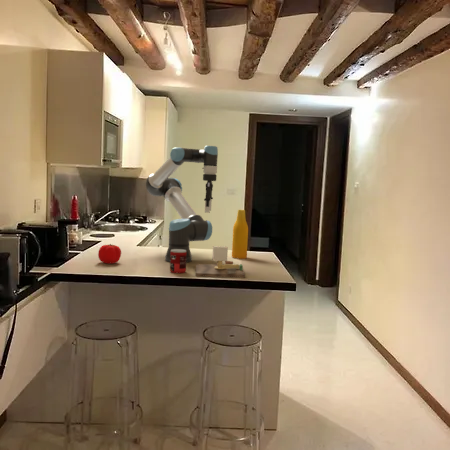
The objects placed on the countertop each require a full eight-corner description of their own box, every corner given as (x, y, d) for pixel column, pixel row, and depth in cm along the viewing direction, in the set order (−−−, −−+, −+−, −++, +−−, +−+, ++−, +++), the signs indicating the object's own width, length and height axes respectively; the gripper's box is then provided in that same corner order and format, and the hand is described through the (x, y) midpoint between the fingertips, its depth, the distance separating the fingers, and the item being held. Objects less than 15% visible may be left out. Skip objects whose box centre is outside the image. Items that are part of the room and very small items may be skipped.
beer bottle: (235, 259, 279) (237, 210, 276) (229, 256, 288) (231, 209, 285) (249, 258, 283) (251, 210, 280) (243, 256, 291) (245, 209, 288)
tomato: (98, 265, 244) (98, 245, 243) (97, 261, 255) (98, 242, 254) (121, 265, 247) (122, 245, 246) (120, 261, 258) (120, 242, 257)
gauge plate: (195, 276, 228) (195, 268, 228) (195, 266, 252) (196, 259, 251) (244, 277, 229) (245, 269, 229) (240, 267, 253) (240, 260, 253)
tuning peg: (211, 267, 242) (212, 245, 241) (237, 267, 245) (238, 246, 244) (213, 269, 237) (214, 247, 236) (239, 269, 240) (240, 247, 239)
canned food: (170, 270, 240) (170, 248, 239) (185, 270, 241) (186, 249, 239) (169, 273, 232) (170, 251, 231) (185, 273, 233) (186, 251, 232)
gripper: (204, 173, 276) (202, 209, 279) (201, 173, 251) (199, 213, 254) (217, 173, 276) (215, 210, 279) (215, 174, 251) (213, 213, 254)
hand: (208, 211), depth 266 cm, fingers open, 13 cm apart
